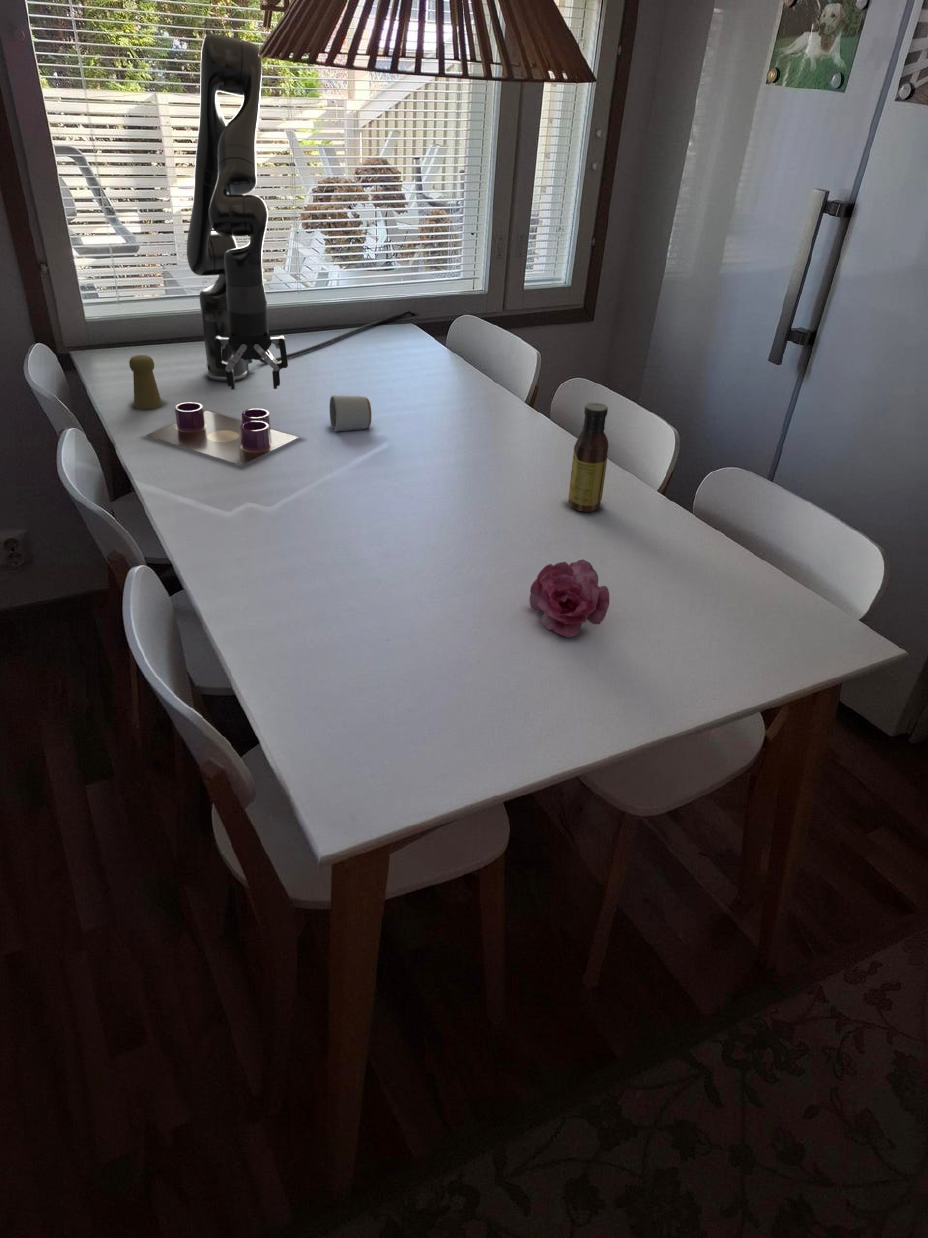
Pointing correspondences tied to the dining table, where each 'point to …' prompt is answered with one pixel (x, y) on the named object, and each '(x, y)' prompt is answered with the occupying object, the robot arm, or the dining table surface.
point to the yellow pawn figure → (144, 383)
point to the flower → (569, 597)
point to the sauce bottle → (589, 461)
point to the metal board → (219, 439)
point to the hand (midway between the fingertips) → (254, 387)
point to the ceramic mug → (350, 412)
